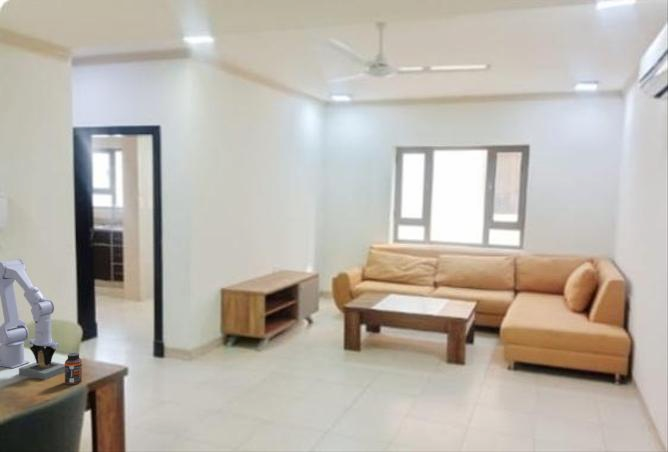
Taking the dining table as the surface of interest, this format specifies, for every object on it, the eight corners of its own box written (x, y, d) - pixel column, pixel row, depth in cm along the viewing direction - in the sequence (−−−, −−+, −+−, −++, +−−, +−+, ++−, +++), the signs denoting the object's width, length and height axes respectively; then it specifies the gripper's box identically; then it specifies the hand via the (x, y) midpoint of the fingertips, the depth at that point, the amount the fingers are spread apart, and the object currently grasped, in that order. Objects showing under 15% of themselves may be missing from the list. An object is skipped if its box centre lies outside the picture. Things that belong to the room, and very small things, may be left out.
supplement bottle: (75, 386, 203) (74, 357, 202) (61, 384, 204) (61, 355, 203) (85, 380, 209) (85, 352, 208) (72, 379, 210) (71, 351, 209)
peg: (35, 371, 215) (35, 352, 214) (44, 368, 218) (44, 349, 218) (43, 373, 213) (43, 353, 213) (51, 370, 217) (51, 351, 216)
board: (19, 374, 213) (18, 367, 213) (42, 365, 224) (42, 359, 223) (45, 379, 208) (44, 372, 208) (68, 370, 219) (67, 364, 218)
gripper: (64, 330, 216) (65, 363, 217) (38, 326, 221) (39, 358, 222) (50, 335, 209) (50, 368, 210) (23, 330, 214) (23, 363, 215)
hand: (43, 363), depth 216 cm, fingers closed on peg, 4 cm apart
